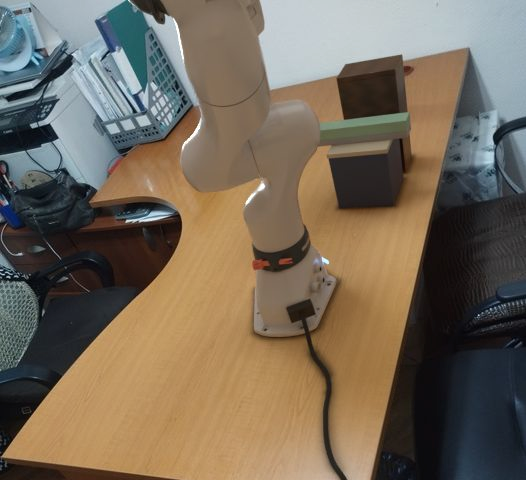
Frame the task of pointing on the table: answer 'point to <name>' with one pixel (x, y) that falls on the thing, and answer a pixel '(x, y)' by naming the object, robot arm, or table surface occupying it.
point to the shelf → (375, 93)
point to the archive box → (366, 173)
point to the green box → (365, 129)
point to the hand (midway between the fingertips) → (249, 69)
